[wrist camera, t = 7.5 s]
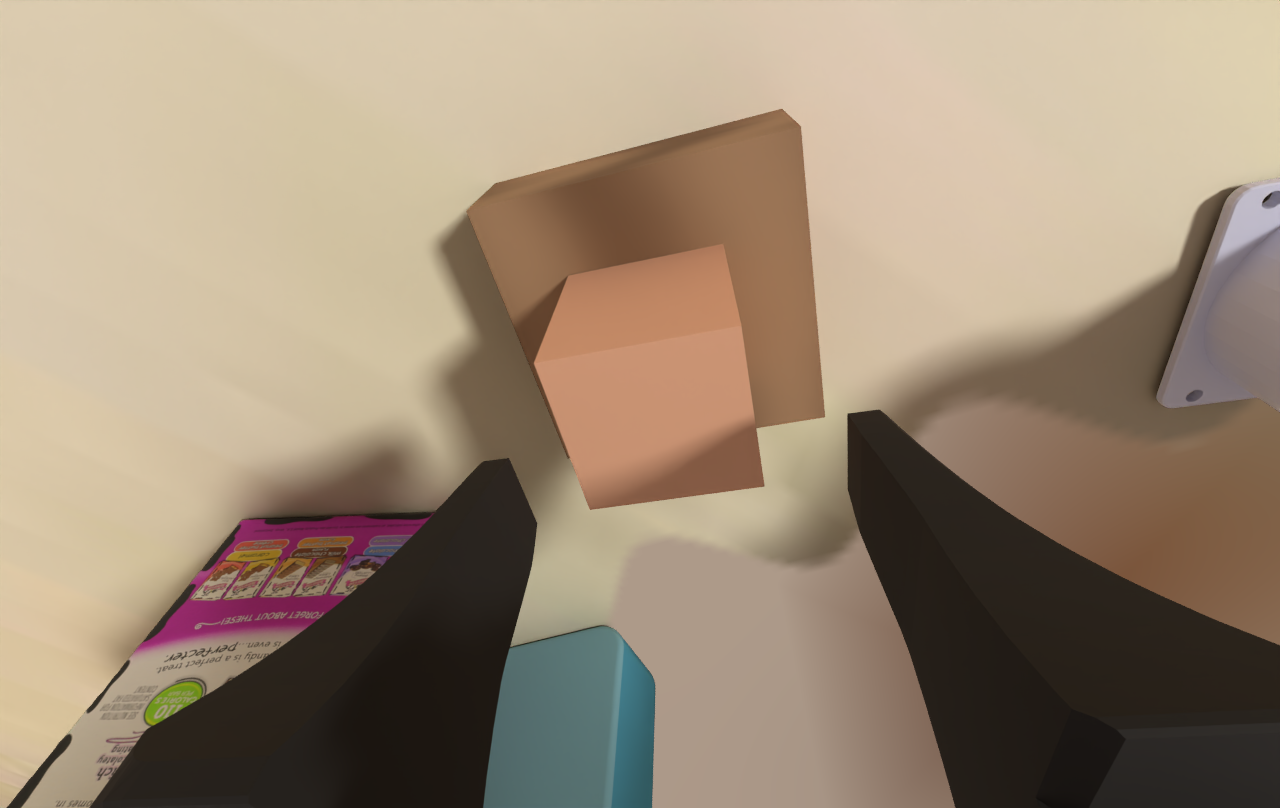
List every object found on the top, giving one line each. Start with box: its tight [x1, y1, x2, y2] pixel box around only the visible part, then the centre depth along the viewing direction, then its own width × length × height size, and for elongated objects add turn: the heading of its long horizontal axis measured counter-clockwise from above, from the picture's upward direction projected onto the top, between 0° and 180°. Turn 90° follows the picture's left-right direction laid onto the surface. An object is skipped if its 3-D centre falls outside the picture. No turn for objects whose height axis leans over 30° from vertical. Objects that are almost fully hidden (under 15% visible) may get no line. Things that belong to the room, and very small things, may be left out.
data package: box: [483, 626, 655, 808], centre depth 29 cm, size 12×4×12 cm, turn 115°
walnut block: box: [467, 109, 825, 458], centre depth 19 cm, size 9×9×4 cm
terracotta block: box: [534, 244, 764, 510], centre depth 15 cm, size 4×4×5 cm
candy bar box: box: [7, 512, 435, 808], centre depth 22 cm, size 11×5×16 cm, turn 95°
